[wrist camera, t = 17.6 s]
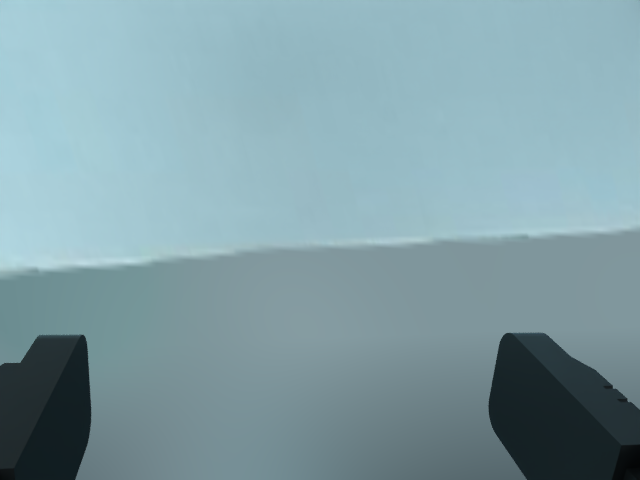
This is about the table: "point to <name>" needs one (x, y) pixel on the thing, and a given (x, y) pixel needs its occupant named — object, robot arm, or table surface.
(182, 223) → the table surface
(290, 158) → the table surface
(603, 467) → the robot arm
